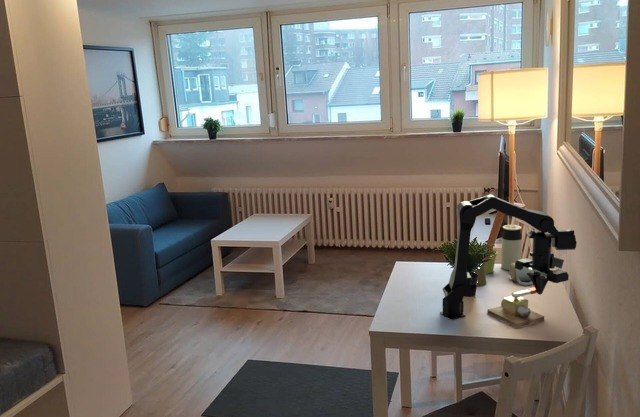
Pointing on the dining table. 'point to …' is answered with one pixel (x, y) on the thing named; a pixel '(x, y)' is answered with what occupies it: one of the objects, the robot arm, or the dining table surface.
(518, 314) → the ball valve
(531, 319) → the valve board
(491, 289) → the dining table surface
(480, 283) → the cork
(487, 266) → the plant pot
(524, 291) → the valve lever
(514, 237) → the travel mug
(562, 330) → the dining table surface
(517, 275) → the ceramic mug
